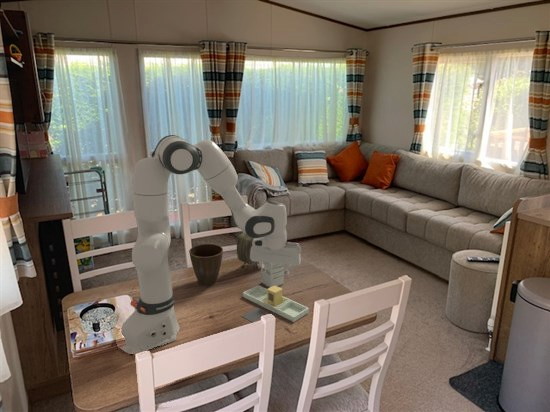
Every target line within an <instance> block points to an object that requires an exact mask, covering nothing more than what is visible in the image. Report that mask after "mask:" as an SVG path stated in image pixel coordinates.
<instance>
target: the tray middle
mask: <svg viewBox="0 0 550 412" xmlns="http://www.w3.org/2000/svg"><path fill="white" fill-rule="evenodd" d="M290 300H291V299H290V298H288V297H285V296H283V300H282V304H280V305H278V306H277V307H274V306H272V305H270V304H268V303H267V296H266V297H264V298H262V299H260V300H259V304H258V305H259V306H260V307H262V308H264V309H267V310H269V311H271V312H273V313H274V314H277V313H276V308H278V307H280V306H282V305H283V304H285V303H287V302H288V301H290Z"/></svg>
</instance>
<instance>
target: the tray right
mask: <svg viewBox="0 0 550 412" xmlns="http://www.w3.org/2000/svg"><path fill="white" fill-rule="evenodd" d="M309 313H310V308H309V307H308V306H306V305H303V304H302V303H298V302H297V301H294V300H292V299H290V301H288V302H287V303H285V304H283V305H282V306H280V307H278V308H276V313H275V314H277V315H278V316H281V317H282V318H284V319H287V320H288V321H290V322H293V323H296V322H297V321H298V320H300V319H302V318H303V317H305V316H306V315H307V314H309Z"/></svg>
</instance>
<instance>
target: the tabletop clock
mask: <svg viewBox="0 0 550 412" xmlns="http://www.w3.org/2000/svg"><path fill="white" fill-rule="evenodd" d="M253 239H254V238H251V237H249V236H248V235H247V234H245V233H244V232H243V233H241V234H239V235H238V236H237V240H236V256H237V260H238V261H240V262H243V264H242V265H241V266H240V269H241V270H243V269H244V268H245V267H244V266H245V265H246V264H247V265H254V264H255V269H259V262H256V261H252V260H251V259H250V250H251V247H252V246H253V244H252V241H253Z"/></svg>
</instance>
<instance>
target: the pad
mask: <svg viewBox="0 0 550 412" xmlns="http://www.w3.org/2000/svg"><path fill="white" fill-rule="evenodd" d="M266 314H271V313H270V312H268V311H266V310H264V309H262V308H260V307H255V308H254V309H252V310H250V311H248V312H246V313H244V314H242V315H241V318H243V319H245V320H247V321H248V322H251V323H253V322H255V321H258V320H260V317H261V316H262V315H266Z"/></svg>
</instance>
